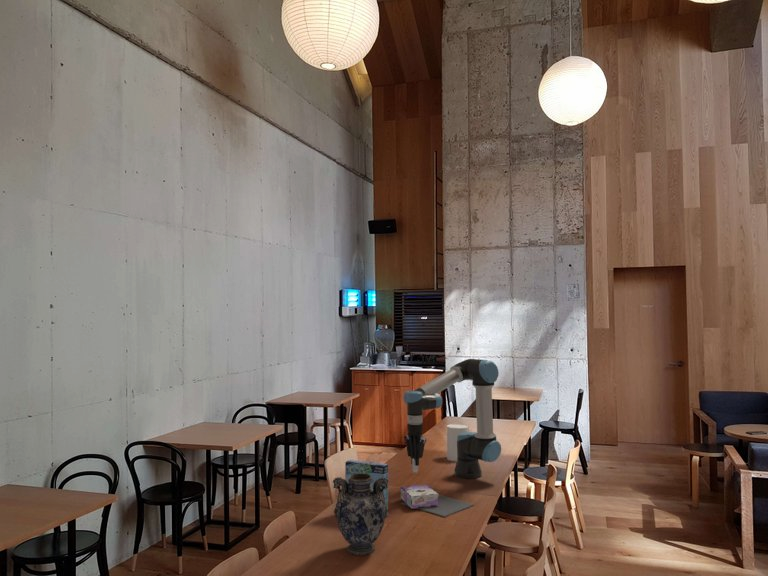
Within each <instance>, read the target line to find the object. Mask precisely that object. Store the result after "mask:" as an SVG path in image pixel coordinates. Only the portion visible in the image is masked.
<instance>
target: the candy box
mask: <svg viewBox="0 0 768 576" xmlns="http://www.w3.org/2000/svg"><path fill="white" fill-rule="evenodd" d="M439 495H440V494H439V493H438V492H437V491H436V490H435V489H433V488H431V486H429V485H428V484H417V485H416V484H415V485H407V486H400V499H401V500H402V501H403V502H405V503H406V504H407V505H408V506H407V507H409V508H410V509H413V510H414V509H416V508H422V507H431V506H439Z"/></svg>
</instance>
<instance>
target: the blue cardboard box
mask: <svg viewBox="0 0 768 576" xmlns="http://www.w3.org/2000/svg"><path fill="white" fill-rule="evenodd" d="M344 466H345V469H344V470H345V474H344V475H345V476H344V478H345V480H346V481H347V482H348V480H349V478H351V476H352V475H354V474H368V475H370V476H371V478H373V480H374V481H373V483H371V484H370V487H371V488H370V490H371V491H373V484H374V482H375V481H376V480H378V479H379V478H383V477H384V478H387V480H388V481H389V464H388V463H381V462H375V461H374V462H371V461H366V460H365V461H364V460H354V459H348V460H347V461H345V465H344ZM348 486H349V488H348V491H351V490H352V489H351V487H352V485H351V484H350V483H349V482H348ZM380 488H381V489H382V487H381V486H380ZM383 492H384V495H385V503H386V507H387V508H388V509H389V506H388V505H389V487H388V488H386V489H383ZM388 515H389V512H388V513H387V516H386V518H387V517H388Z"/></svg>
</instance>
